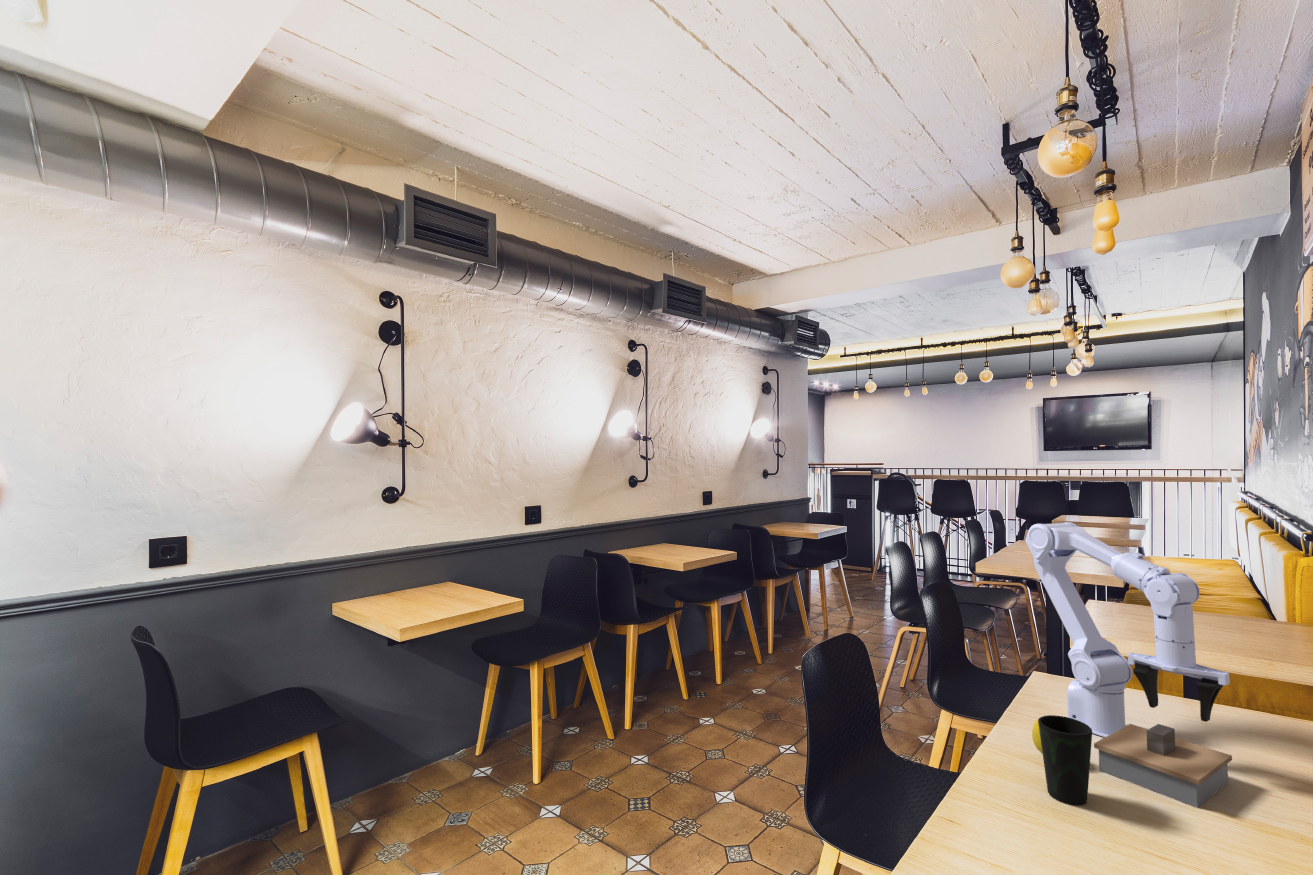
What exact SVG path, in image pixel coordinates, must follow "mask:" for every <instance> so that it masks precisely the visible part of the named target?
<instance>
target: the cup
mask: <svg viewBox="0 0 1313 875" xmlns="http://www.w3.org/2000/svg"><path fill="white" fill-rule="evenodd" d="M1037 720H1038V724H1039V731H1040V738H1041V746H1042V753H1043V754H1042V753H1041V754H1042V758H1043V760H1042V761H1043V766H1044V774H1045V780H1046V789H1047V794H1048V793H1049V794H1048V795H1049V797H1051V798H1052V799H1054V800H1055V799H1056V800H1055V801H1058V802H1060V803H1062V802H1063V804H1066V805H1069V806H1077V807H1079V806H1085V805H1086V804H1087V803H1088V795H1089V782H1090V780H1089V779H1090V769H1091V768H1090V767H1091V755H1092V753H1091V752H1092V741H1093V740H1092V739H1093V733H1092V729H1091V728H1090V727H1089V726H1088V725H1087V724H1085V723H1083V722H1081V721H1078V720H1075V719H1072V718H1068V716H1063V715H1062V716H1061V715H1052V714H1051V715H1044V716H1040V717H1039V718H1038V719H1037Z"/></svg>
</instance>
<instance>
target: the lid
mask: <svg viewBox="0 0 1313 875" xmlns="http://www.w3.org/2000/svg"><path fill="white" fill-rule="evenodd" d="M1175 730H1176V729H1175V728H1173V727H1170V726H1167V725H1164V724H1160V723H1157V724H1155V725H1154V726H1152V727H1150V728H1145V727H1142V726H1139V725H1136V724H1133V723H1130V724H1129V723H1128V724H1127V725H1125V727H1123V728H1122V729H1120V730H1118V731H1116V732H1114V733H1112V734H1111V735H1109V736H1107V737H1103V738H1102V739H1100V740H1098V741H1096V742H1093V748H1094V749H1096V750H1098V751H1099V750H1102V751H1104V752H1107V753H1110V754H1113V755H1116V756H1118V757H1121V758H1124V759H1127V760H1130V761H1133V762H1135V763H1138V764H1141V765H1144V766H1147V767H1149V768H1152V769H1155V770H1158V771H1161V772H1163V773H1166V774H1169V775H1172V776H1175V777H1177V778H1180V779H1183V780H1186V781H1189V782H1191V783H1194V784H1197V785H1200V784H1201V783H1203V782H1204V781H1205V780H1207V779H1208V778H1209V777H1211V776H1212V775H1213V774H1214V773H1216V772H1217V771H1218V770H1220V769H1221V768H1222V767H1224V766H1225V765H1226V764H1229V763H1231V761H1233V755H1231V754H1229V753H1225V752H1222V751H1219V750H1215V749H1213V748H1209V747H1205V746H1203V745H1200V744H1196V743H1194V742H1190V741H1186V740H1183V739H1180V738H1177V737H1176V731H1175Z"/></svg>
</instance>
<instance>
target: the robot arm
mask: <svg viewBox="0 0 1313 875" xmlns="http://www.w3.org/2000/svg"><path fill="white" fill-rule="evenodd" d="M1025 537H1026V538H1025V543H1026V545H1027V547H1028V549H1029V551H1030V553H1031V554H1032V560H1033V565H1034V568H1035V570H1036V572H1037V574H1038V577H1039V578H1040V580H1041V582H1042V584H1043V587H1044V588H1045V591H1046V593H1047V595H1048V596H1049V598H1050V601H1051V603H1052V604H1053V607H1054V608H1055V610H1056V612H1057V614H1058V616H1059V618H1060V620H1061V622H1062V624H1063V626H1064V628H1065V630H1066V632H1067V634H1068V635H1069V638H1070V640H1071V642H1072V643H1073V644H1072V645H1071V648H1070V650H1068V653H1067V656H1068V658H1069V660H1070V662H1071V670H1072V671H1071V672H1072V674H1073V676H1074V678H1075V679H1074V680H1072V681H1071V682H1070V683H1069V685H1068V688H1067V693H1066V696H1067V697H1066V698H1067V699H1066V700H1067V717H1068V718H1072V719H1075V720H1078V721H1081V722H1083V723H1085V724H1087V725H1088V726H1089V727H1090V728H1091V729H1092V735H1097V736H1100V737H1103V738H1105V737H1107V736H1109V735H1111V734H1112V733H1114V732H1116V731H1118V730H1120V729H1122V728H1123V727H1125V726H1126V710H1125V708H1126V706H1125V689H1127V684H1128V683H1129V682H1130V681H1131V680H1132V678H1133V674H1134V676H1136V679H1137V680H1138V681H1139V684H1140V686H1141V688H1142V689H1143V692H1144V693H1145V697H1146V699H1147V703H1148V705H1149V708H1153V709H1154V708H1157V707H1158V706H1159V694H1158V693H1159V692H1158V674H1159V673H1158V672H1159V671H1163V672H1167V673H1172V674H1177V675H1181V676H1185V677H1190V678H1195V679H1198V680H1199V681H1198V682H1196V687H1197V692H1198V697H1199V704H1200V707H1199V709H1200V710H1199V714H1200V721H1202V722H1205V723H1207V722H1209V721H1210V719H1211V714H1212V709H1213V706H1214V704H1215V701H1216V699H1217V697H1218V695H1219V693H1220V692H1221V690H1222V688H1223V687H1224V686H1225V687H1226V686H1228V685H1229V684H1230V683H1231V682H1230V672H1228V671H1227V672H1226V671H1222V670H1220V669H1219V670H1218V669H1216V668H1212V667H1208V666H1205V665H1201V664H1199V663H1198V664H1197V658H1196V644H1195V643H1196V642H1195V640H1196V638H1195V626H1194V625H1195V624H1194V610H1193V609H1194V607H1193V604H1194V603H1196V602H1197V601H1198V600H1199V598H1200V594H1201V592H1200V588H1199V585H1198V584H1197V582H1196V581H1195V580H1194V579H1193V578H1192V577H1190V576H1189V575H1188V574H1186V573H1183V572H1173V573H1172V572H1170V571H1169V569H1168V568H1167V567H1165V566H1159V565H1157V564H1155V563H1153V562H1151V561H1149V560H1147V559H1145V558H1144V557H1145V556H1144V554H1142V553H1140V552H1132V551H1131V552H1130V551H1129V552H1124V553H1122V552H1120V551H1118V550H1117V549H1115V548H1113V547H1112V546H1110V545H1108V543H1107V544H1106V542H1103V541H1102V540H1100V539H1098V538H1097V537H1095V536H1094V535H1092V534H1090V533H1088V532H1087V531H1086V530H1085V527H1081V526H1080V525H1076V524H1075V523H1073V522H1070V521H1065V522H1057V523H1056V522H1055V523H1035V524H1033V525H1031V526H1030V527H1029V529H1028V530H1027V534H1026V536H1025ZM1077 551H1078V552H1080V553H1081V554H1082V553H1083V554H1084V555H1086V556H1088V557H1091V559H1092V558H1093V559H1095V560H1096V561H1098V562H1100V563H1102V564H1104V565H1107V566H1109V567H1110V568H1111V570H1112V573H1113V575H1114V576H1115V577H1117V578H1118V579H1120V580H1121V581H1123V582H1125V583H1127V584H1128V585H1131V586H1132V587H1134V588H1136V589H1137V590H1139V591H1141V592H1143V593H1144V595H1145V597H1146V599H1147V600H1148V601H1149V603H1150V608H1151V611H1152V612H1153V614H1152V615H1153V626H1154V628H1153V629H1154V643H1155V644H1154V646H1155V655H1149V654H1142V653H1137V652H1130V653H1127V658H1126V657H1124V655H1122V654H1121V653H1120V651H1119V649H1118V647H1117V646H1116V645H1115V644H1113V643H1112V642H1111V641H1109V640H1108V639H1106V638H1104V637H1102V635H1101V633H1100V631H1099V630H1098V628H1097V626H1096V623H1095V622H1094V620H1093V618H1092V617H1091V614H1090V612H1089V610H1088V609H1087V607H1086V605H1085V603H1084V602H1083V600H1082V598H1081V596H1080V593H1079V592H1078V590H1077V589H1076V588H1077V587H1076V585H1074V582H1073V581H1072V579H1071V577H1070V575H1069V573H1068V571H1067V569H1066V567H1067V566H1066V565H1067V563H1068V562H1069V561H1070V560H1071V558H1072V557H1073V555H1074V554H1075V553H1076V552H1077ZM1132 666H1134V668H1132Z"/></svg>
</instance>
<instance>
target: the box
mask: <svg viewBox="0 0 1313 875" xmlns="http://www.w3.org/2000/svg"><path fill="white" fill-rule="evenodd" d="M1228 764H1229V763H1228ZM1228 764H1226V765H1225V766H1224V767H1222V768H1221V769H1220V770H1218V771H1217V772H1216V773H1214V774H1213V775H1212V776H1211V777H1209V778H1208V779H1207V780H1205V781H1204V782H1203V783H1201V784H1200V785H1197V784H1194V783H1191V782H1189V781H1186V780H1183V779H1180V778H1177V777H1175V776H1172V775H1169V774H1166V773H1163V772H1161V771H1158V770H1155V769H1152V768H1149V767H1147V766H1144V765H1141V764H1138V763H1135V762H1133V761H1130V760H1127V759H1124V758H1121V757H1118V756H1116V755H1113V754H1110V753H1107V752H1104V751H1102V750H1099V749H1098V767H1099V768H1098V769H1099V771H1100V772H1103V773H1105V774H1108V775H1111V776H1113V777H1116V778H1118V779H1122V780H1123V781H1126V782H1129V783H1131V784H1134V785H1137V786H1138V787H1139V786H1140V787H1142V788H1144V789H1147V790H1150V791H1153V792H1155V793H1158V794H1160V795H1163V796H1166V797H1168V798H1171V799H1174V800H1176V801H1179V802H1181V803H1184V804H1186V805H1189V806H1192V807H1194V808H1199V807H1200V806H1201V805H1203V804H1204V803H1205V802H1207V801H1208V800H1209V799H1210V798H1211V797H1212V796H1214V795H1215V794H1217V793H1218V792H1219V791H1220V790H1222V789H1223V788H1224V787H1225V786H1226V785H1228V784H1229V769H1228V767H1229V766H1228Z"/></svg>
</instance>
